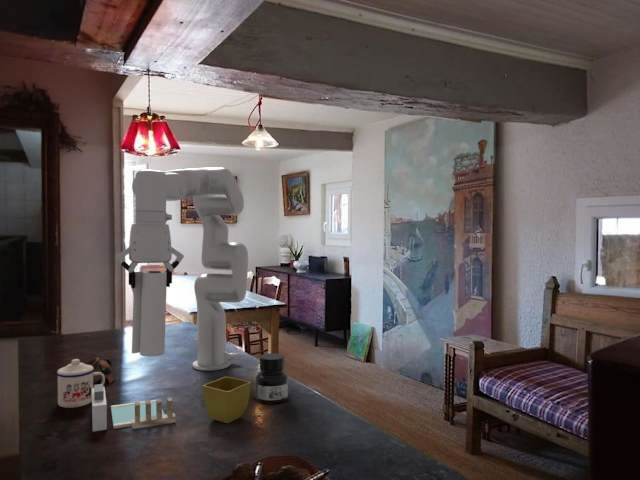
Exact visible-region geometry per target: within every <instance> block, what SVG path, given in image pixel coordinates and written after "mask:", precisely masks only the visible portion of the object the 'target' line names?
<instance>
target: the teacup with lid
mask: <svg viewBox="0 0 640 480" xmlns="http://www.w3.org/2000/svg"><path fill="white" fill-rule="evenodd" d="M93 371H94V368H93V366H91V365H86V363H84V362H81V360H80V359H78V358H75V359H72V360H71V363H69V364H67V365H65V366H63V367H61V368H59V369H58V370H57V372H56V376H57V404H58V406H59V407H62V408H66V409H67V408H68V409H71V408H73V409H74V408H79V407H83V406H86V405H90V403H91V404H92V388H94V376H101V382H100V384H103V386H104V385H105V383H106V375H104V374H103V373H102V372H101V371H100V372H93Z"/></svg>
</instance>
